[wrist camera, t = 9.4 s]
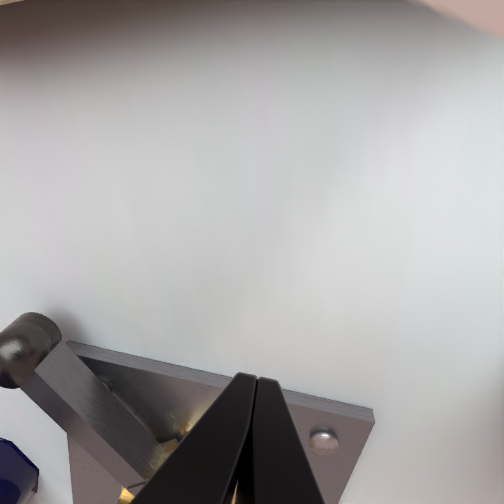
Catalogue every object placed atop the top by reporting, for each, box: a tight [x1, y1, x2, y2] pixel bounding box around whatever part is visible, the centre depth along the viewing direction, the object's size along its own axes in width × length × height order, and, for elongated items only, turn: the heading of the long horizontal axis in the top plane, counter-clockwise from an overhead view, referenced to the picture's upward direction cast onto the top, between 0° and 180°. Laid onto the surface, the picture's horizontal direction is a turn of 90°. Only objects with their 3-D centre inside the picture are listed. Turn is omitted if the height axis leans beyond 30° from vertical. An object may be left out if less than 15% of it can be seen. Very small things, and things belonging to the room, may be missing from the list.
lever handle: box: [0, 312, 237, 504], centre depth 24 cm, size 10×22×4 cm, turn 32°
